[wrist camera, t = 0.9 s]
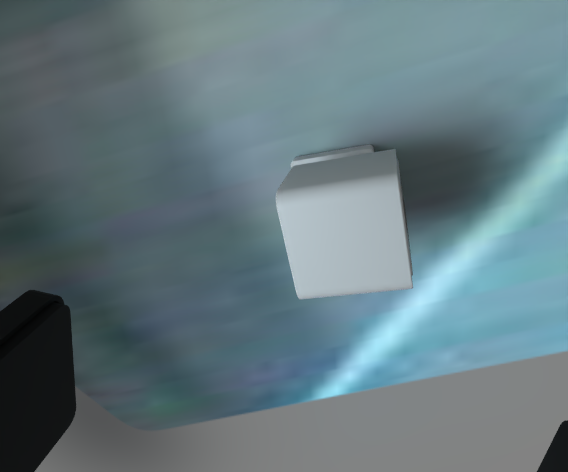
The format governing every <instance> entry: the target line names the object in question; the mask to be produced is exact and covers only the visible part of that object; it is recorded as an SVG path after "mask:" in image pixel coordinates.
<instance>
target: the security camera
mask: <svg viewBox="0 0 568 472" xmlns="http://www.w3.org/2000/svg"><path fill="white" fill-rule="evenodd" d="M276 205H277V211H278V215H279V219H280V224H281V228H282V232H283V237H284V241H285V245H286V250H287V254H288V258H289V263H290V267H291V272H292V276H293V280H294V285H295V289H296V293H297V296H298V298H299V299H308V298H319V297H329V296H340V295H350V294H361V293H371V292H382V291H392V290H403V289H412V288H413V281H412V275H413V272H412V263H411V253H410V244H409V235H408V228H407V220H406V213H405V205H404V198H403V190H402V183H401V175H400V168H399V161H398V159H397V153H396V149H391V150H385V151H379V152H374V148H373V146H372V145H363V146H357V147H351V148H345V149H339V150H333V151H328V152H322V153H316V154H310V155H304V156H298V157H295V158H294V160H293V161H292V163H291V170H290V172H289V173H288V175H287V176H286V178H285V179H284V181H283V182H282V184H281V185H280V187H279V188H278V190H277V192H276Z"/></svg>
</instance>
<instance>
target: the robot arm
mask: <svg viewBox="0 0 568 472" xmlns="http://www.w3.org/2000/svg"><path fill="white" fill-rule="evenodd" d="M75 411H76V397H75V381H74V364H73V348H72V332H71V316H70V309H69V307H68V306H67V305H64V302H63V299H62V298H61V297H60V296H58V295H53V294H49V293H44V292H40V291H36V290H29V291H27V292H25V293H24V294H22V295H21V296H20V297H19V298H17V299H16V300H15V301H13V302H12V303H11V304H9V305H8V306H7V307H6V308H4V309H3V310H2V311H0V472H34V471H35V470H36V469H37V467H38V466H39V465H40V464H41V462H42V461H43V460H44V458H45V457H46V456H47V455H48V453H49V452H50V450H51V449H52V448H53V447H54V445H55V444H56V443H57V442H58V440H59V439H60V438H61V436H62V435H63V433H65V431H66V430H67V429H68V427H69V426H70V424H71V422H72V421H73V418H74V415H75ZM537 472H568V421H564V422H562V424H561V425H560V427H559V429H558V431H557V433H556V435H555V437H554V439H553V441H552V443H551V445H550V447H549V449H548V451H547V453H546V455H545V457H544V459H543V461H542V463H541V465H540V467H539V469H538V471H537Z"/></svg>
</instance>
